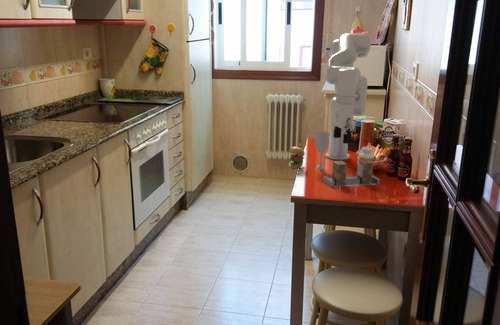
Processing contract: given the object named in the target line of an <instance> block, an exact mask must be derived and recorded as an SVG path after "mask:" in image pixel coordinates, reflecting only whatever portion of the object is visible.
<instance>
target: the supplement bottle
mask: <svg viewBox="0 0 500 325" xmlns="http://www.w3.org/2000/svg"><path fill="white" fill-rule="evenodd" d="M359 160H369V161H370V162H372V163H373V164H374V160H375V155H374V153H373V148H372V147H371V146H362V147H361V152H359V154H358V161H357V164H359ZM373 168H374V167H373ZM373 168H372V171H373ZM356 172H358V170H356Z"/></svg>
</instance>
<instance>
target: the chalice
mask: <svg viewBox="0 0 500 325" xmlns="http://www.w3.org/2000/svg"><path fill="white" fill-rule="evenodd" d="M314 135H315V142H314V143H315V147H316V149H317V150H316V151H317V152H318V153H319V155H318V156H319V160H318V161H319V162H318V163H319V164H317V165H316V167H315V170H318V171H324V170H326V168H325V166H324V165H323V164H322V162H323V161H324V160H323V154H324V153H325V152H326V150H327V149H328V148H329V140H330V132H327V131H316V132H315V131H314Z"/></svg>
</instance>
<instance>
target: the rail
mask: <svg viewBox="0 0 500 325" xmlns="http://www.w3.org/2000/svg"><path fill="white" fill-rule="evenodd" d="M323 181H324V183H326V184H327V185H328V186H330V187H331V188H340V187H341V188H342V187H356V186H357V187H358V186H373V185H375V186H376V185H380V183H381V179H380V178H378V177H377V176H375V175H373V174H372V178H371V183H363V184H362V178H361V177H360V176H358V175H357V176H346V180H345V185H336V179H335V178H332V177H329V176H328V175H323Z"/></svg>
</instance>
